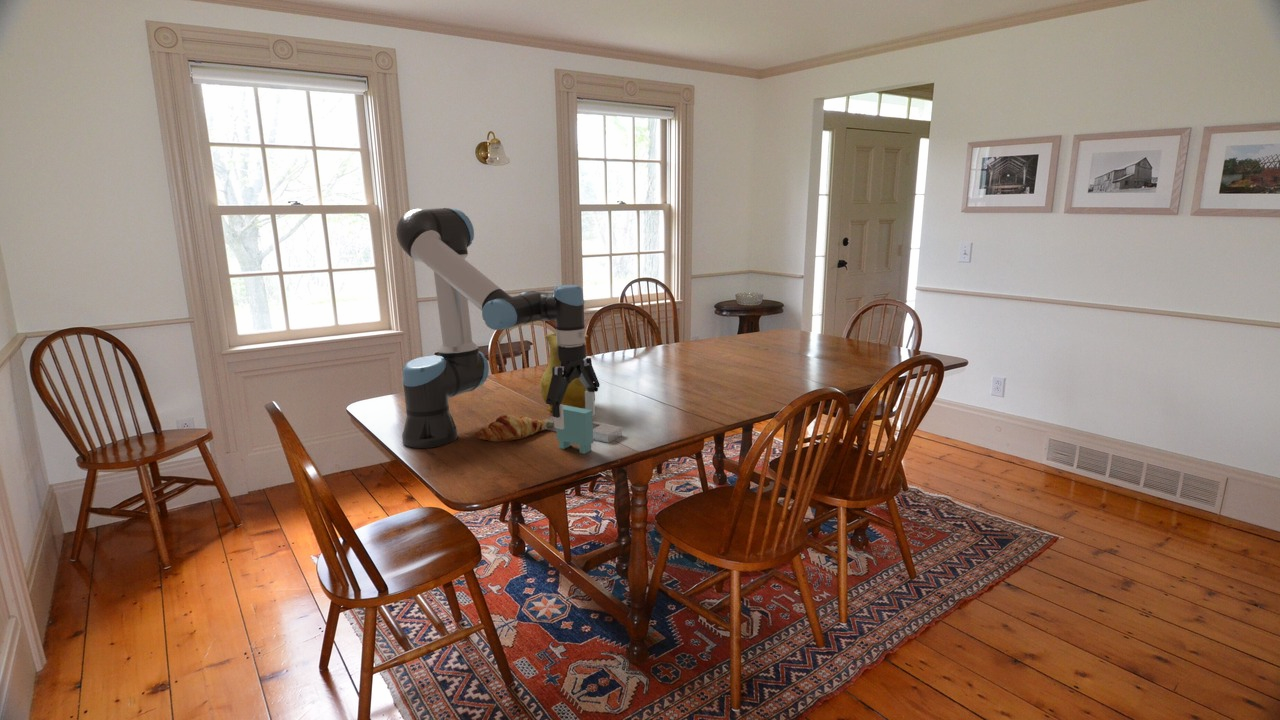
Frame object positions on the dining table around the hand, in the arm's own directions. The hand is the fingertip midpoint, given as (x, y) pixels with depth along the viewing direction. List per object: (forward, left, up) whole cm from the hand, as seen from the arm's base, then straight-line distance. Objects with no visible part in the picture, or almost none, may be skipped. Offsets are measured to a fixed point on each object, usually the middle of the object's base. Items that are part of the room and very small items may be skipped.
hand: (575, 421), depth 176 cm
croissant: (-1, +23, -9) cm, 24 cm away
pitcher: (+29, +25, -8) cm, 39 cm away
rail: (+12, +7, -8) cm, 16 cm away
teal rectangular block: (0, 0, -8) cm, 8 cm away
